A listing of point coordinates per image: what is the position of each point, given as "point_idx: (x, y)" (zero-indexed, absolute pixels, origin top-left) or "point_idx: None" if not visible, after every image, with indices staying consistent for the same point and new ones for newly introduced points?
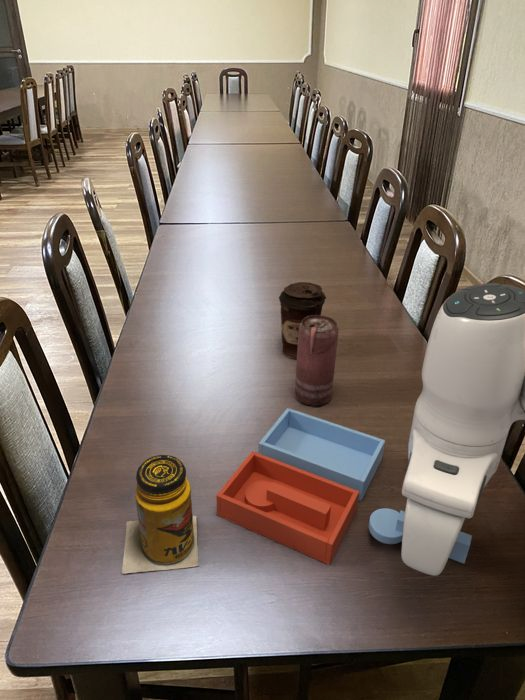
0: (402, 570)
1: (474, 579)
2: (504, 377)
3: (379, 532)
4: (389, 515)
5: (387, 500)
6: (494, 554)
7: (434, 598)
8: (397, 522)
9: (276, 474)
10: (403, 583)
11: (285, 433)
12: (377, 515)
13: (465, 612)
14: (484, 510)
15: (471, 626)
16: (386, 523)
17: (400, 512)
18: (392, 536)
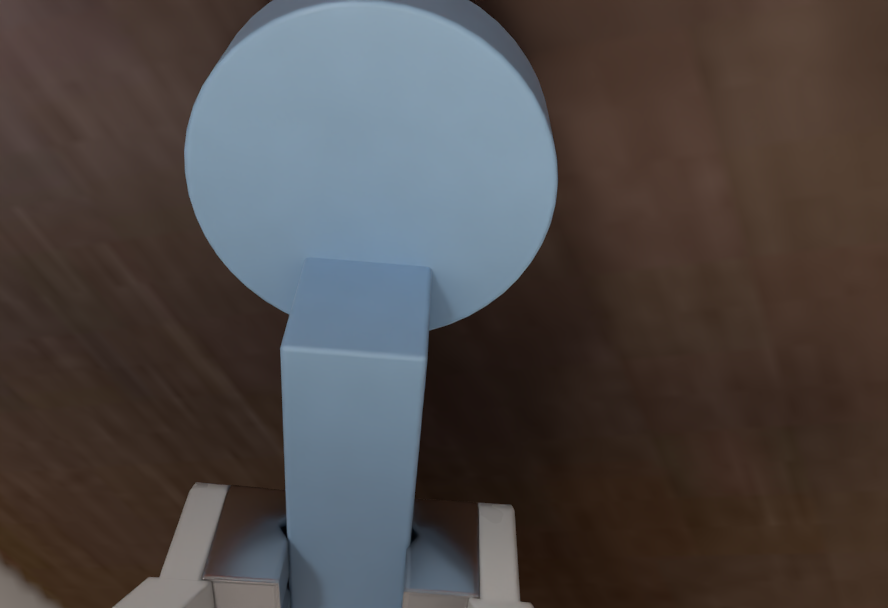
0: (172, 249)
1: None
2: None
3: (198, 136)
4: (462, 184)
5: (838, 31)
6: (533, 604)
7: (98, 416)
8: (286, 327)
9: None
10: (79, 268)
11: None
12: (412, 73)
13: (118, 525)
14: (842, 569)
15: (63, 545)
16: (349, 174)
17: (390, 359)
18: (218, 249)
